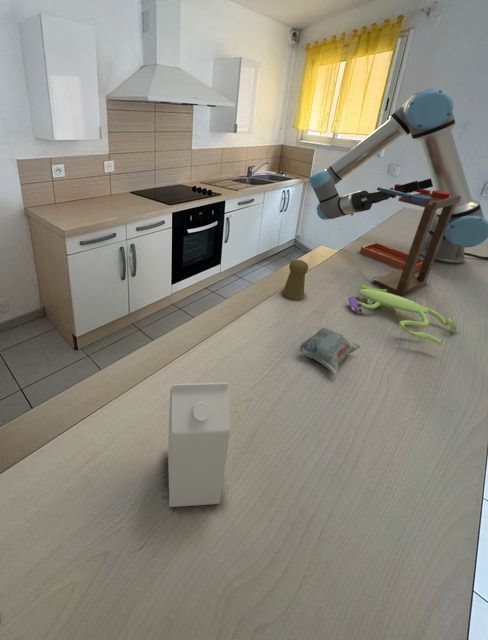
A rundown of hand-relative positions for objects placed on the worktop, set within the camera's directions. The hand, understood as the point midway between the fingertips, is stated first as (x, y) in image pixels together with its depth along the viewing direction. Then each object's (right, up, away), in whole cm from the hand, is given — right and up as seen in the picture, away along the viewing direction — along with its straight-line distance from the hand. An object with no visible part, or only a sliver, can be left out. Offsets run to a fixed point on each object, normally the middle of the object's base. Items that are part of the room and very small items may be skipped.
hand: (424, 183), depth 100 cm
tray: (+4, -25, +23) cm, 34 cm away
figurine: (-17, -39, -12) cm, 45 cm away
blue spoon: (-10, -4, -4) cm, 12 cm away
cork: (-42, -34, -3) cm, 54 cm away
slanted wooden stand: (-4, -32, +6) cm, 33 cm away
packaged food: (-42, -44, -27) cm, 67 cm away
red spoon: (0, -2, +1) cm, 3 cm away
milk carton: (-73, -53, -52) cm, 104 cm away
